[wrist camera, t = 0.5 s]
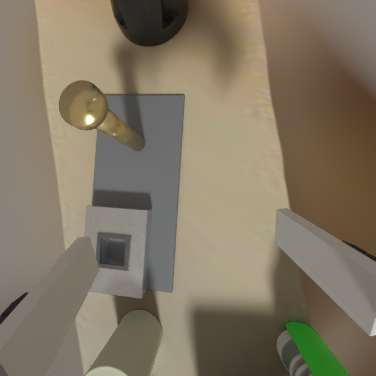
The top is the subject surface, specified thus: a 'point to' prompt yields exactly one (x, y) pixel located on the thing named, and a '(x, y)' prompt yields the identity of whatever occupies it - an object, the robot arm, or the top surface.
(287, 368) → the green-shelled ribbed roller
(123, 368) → the can
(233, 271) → the top surface
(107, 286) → the grey flat rectangular block
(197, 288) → the top surface
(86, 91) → the pin
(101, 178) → the mat
